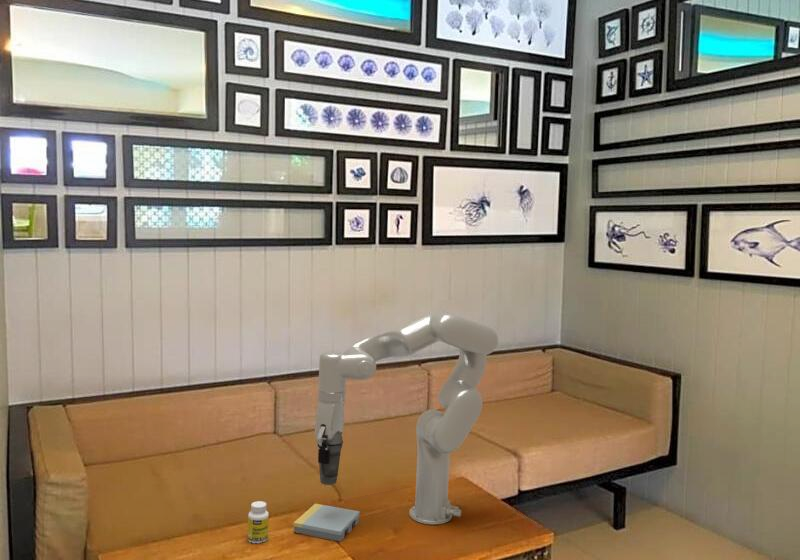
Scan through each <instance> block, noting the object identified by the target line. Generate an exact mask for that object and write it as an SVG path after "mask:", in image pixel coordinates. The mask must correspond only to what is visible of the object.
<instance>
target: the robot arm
mask: <svg viewBox="0 0 800 560" xmlns="http://www.w3.org/2000/svg"><path fill="white" fill-rule="evenodd" d="M437 342H442V343H444V344H447V345H450V346H452V347H454V348H457V349H459V357H458V359H457V362H456V364H455V366H454V368H453V370H452V371H451V373H450V374H449V376H448V377H447V379H446V381H445V383H444V384H443V385H442V387H441V389H440V391H439V393H438V401H439V403H440V405H441V407H442V408H444V409H445V412H442V411H440V410H437V409H428V410H425V411H424V412H423V413H421V414H420V415H419V417H418V419H417V422H416V426H415V429H416V430H415V431H416V432H415V433H416V444H417V445H416V446H417V448H416V449H417V458H416V461H417V462H416V476H415V479H416V480H415V495H414V496H415V499H414V501H415V502H414V505H413V506H412V507H410V509H409V514H408V515H409V517H410V518H411V519H412V520H414V521H415V522H416V523H417V522H418V523H421V524H423V525H442V524H446V523H448V522H449V521H451V520H452V517H453V516H455V517H459V518H460V517H461V515H462V510H461V509H460V507H459V506H453V505H451V501H450V499H448V497H449V496H448V495H449V479H450V478H449V475H450V457H451V456H450V454H451V453H453V452H455V451H456V450H458V449H459V448H460V447H461V446H462V444H463V443H464V441H465V439H466V438H467V436H468V435H469V433H470V431H471V430H472V428H473V427H474V425H475V423H476V422H477V420H478V419H479V417H480V415H481V412H482V410H483V409H482V408H483V397H482V395H481V393H480V392H479V390H477V387H478V385H479V384H480V382H481V380H482V378H483V376H484V374H485V371H486V369H487V360H488V359H487V355H490V354H492V353H493V352H494V351H495V350H496V349H497V347H498V343H499V339H498V334H497V333H496V331H495V330H494V329H493V328H492V327H490V326H487V325H485V324H482V323H480V322H477V321H473V320H469V319H466V318H464V317H462V316H459V315H456V314H454V313H451V312H448V311H445V310H440V309H437V310H433V311H431V312H428V313H426V314H425V315H423V316H420V317H418V318H417V319H414V320H413V321H411V322H408V323H406V324H404V325H402V326H400V327H398V328H396V329H392V330H389V331H386V332H382V333H380V334H379V333H378V334H376V335H373V336H370V337H368V338H366V339H363V340H361V341H359V342H356V343H355V344H353V345H352V346H350V347H348V348H347V349H346V350H345V351H344V352H342V351H339V350H328V351H323V352H321V354H320V355H319V363H318V364H319V367H318V388H317V389H318V390H317V391H318V392H317V395H318V397H317V403H318V404H317V409H316V414H315V425H314V437H315V439H316V443H317V452H318V454H317V455H318V456H317V462H318V464H319V463H323V464H329V463H330V450H329V445H330V440H331V439H333V438H334V436H335V434H336V433H337V432H338V431H340V433H341V435H343V431H344V426H345V424H344V423H345V406H344V405H345V403H346V392H347V391H346V387H347V379H352V380H357V381H358V380H360V381H362V380H364V381H365V380H369V379H370V378H371V377H373V376H374V374H375V373H376V370H377V362H378V361H380V360H383V359H387V358H388V359H389V358H397V357H399V358H403V357H408V356H412V355H414V354H416V353H418V352H420V351H422V350H424V349H425V348H427V347H429V346H432V345H434V344H435V343H437ZM324 436H328V438H323V437H324ZM323 440H326V441H327V443H326V444H325V442H323Z"/></svg>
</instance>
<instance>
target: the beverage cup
mask: <svg viewBox="0 0 800 560" xmlns="http://www.w3.org/2000/svg"><path fill="white" fill-rule="evenodd" d="M323 438H328V436H324V437H323ZM323 442H325V444H326V443H327V441H326V440H323ZM343 443H344V441H343V434H341V433H340V431H338V432H337V433H336V434H335V436H334V438H333V439H331V440H330V445H329V450H330V463H329V464H323V463H319V462H318V464H319V469H318V470H319V479H320V482H319V483H320V484H321V485H324V486H331V485H335V484H337V482H338V481H337V480H338V475H339V467H340V459H341V451H342V447H343Z"/></svg>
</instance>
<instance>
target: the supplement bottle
mask: <svg viewBox="0 0 800 560" xmlns="http://www.w3.org/2000/svg"><path fill="white" fill-rule="evenodd" d="M269 515H270V514H269V512H268V511H267V503H266V502H265V501H261V500H260V501H259V500H257V501H253V502H252V503H251V505H250V511H249V512H248V515H247V516H248V517H247V537H246V538H247V541H248V542H249V543H251V542H252V543H251V544H255V543H257V544H263V543H265V542H266V541H267V540H268V537H269V520H270V519H269V518H270V516H269ZM262 542H263V543H262Z"/></svg>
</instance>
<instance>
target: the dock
mask: <svg viewBox="0 0 800 560" xmlns="http://www.w3.org/2000/svg"><path fill="white" fill-rule="evenodd" d="M360 513H361V512H360V511H359V510H354V509H353V510H352V509H347V508H342V507H336V506H332V505H331V506H330V505H325V504H320V503H314V504H313V505H312V506H311V507H310V508H308V509H307V511H305V512H303V514H302V515H301V516H299V517H298V518H297V519H296V520H295V521H294V522H293V533H295V532H296V533H295V534H300V533H301V535H305V534H306V535H305V536H310V537H316V538H320V539H326V540H331V541H335V542H339V543H341V542H342V541H344V539H345V534H349V533H350V532H351V531H352V530H353V529H352V528H353V526H355V527H356V526H357V525H358V524H359V523H360Z"/></svg>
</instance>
